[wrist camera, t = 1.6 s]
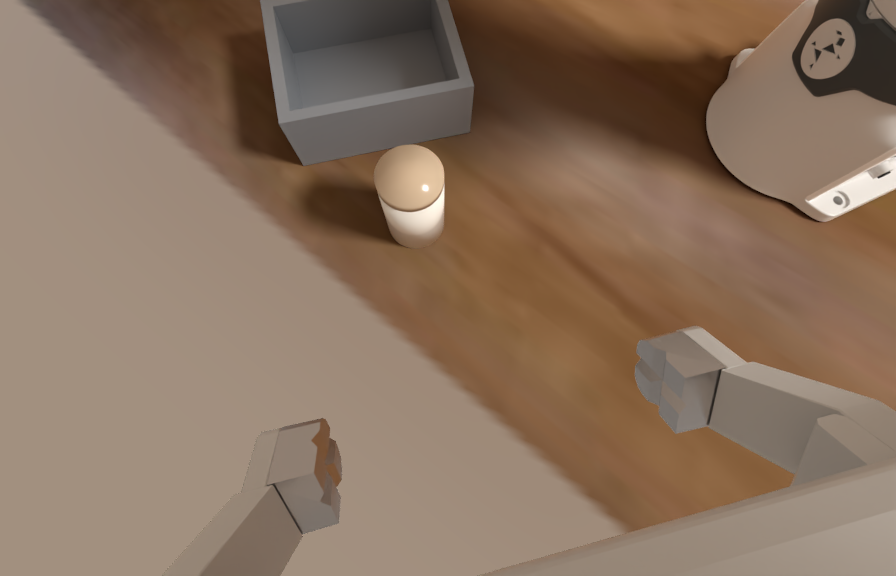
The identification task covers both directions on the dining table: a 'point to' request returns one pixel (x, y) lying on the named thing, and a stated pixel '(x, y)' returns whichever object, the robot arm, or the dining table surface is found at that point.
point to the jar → (411, 194)
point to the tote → (365, 74)
